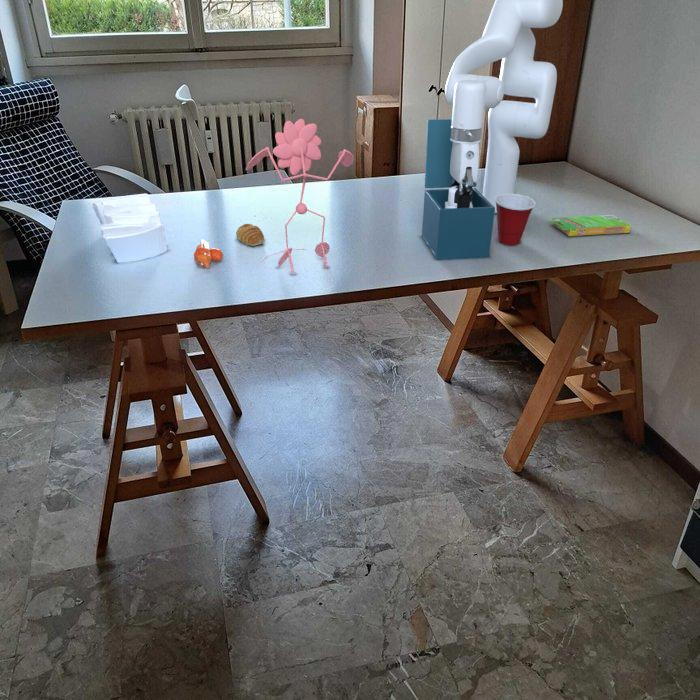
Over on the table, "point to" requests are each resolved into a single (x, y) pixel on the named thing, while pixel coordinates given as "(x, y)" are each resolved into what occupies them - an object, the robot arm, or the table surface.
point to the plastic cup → (512, 217)
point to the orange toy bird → (206, 254)
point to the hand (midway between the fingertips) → (459, 204)
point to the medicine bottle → (454, 197)
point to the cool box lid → (438, 154)
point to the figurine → (297, 154)
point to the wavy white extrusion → (131, 227)
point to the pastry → (250, 235)
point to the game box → (591, 225)
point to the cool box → (457, 226)
